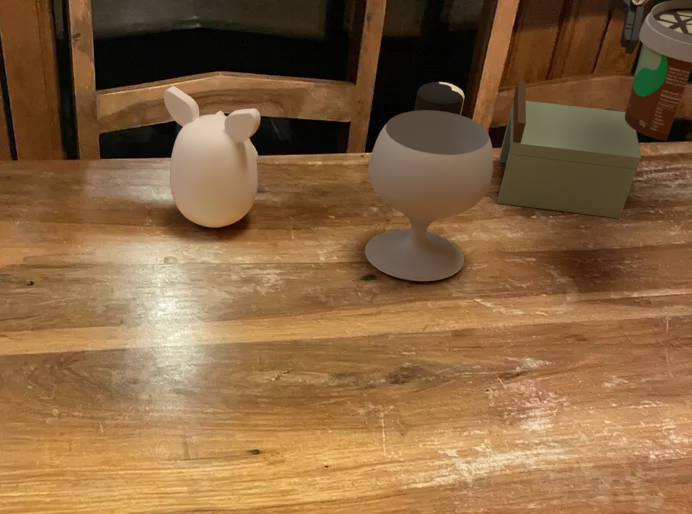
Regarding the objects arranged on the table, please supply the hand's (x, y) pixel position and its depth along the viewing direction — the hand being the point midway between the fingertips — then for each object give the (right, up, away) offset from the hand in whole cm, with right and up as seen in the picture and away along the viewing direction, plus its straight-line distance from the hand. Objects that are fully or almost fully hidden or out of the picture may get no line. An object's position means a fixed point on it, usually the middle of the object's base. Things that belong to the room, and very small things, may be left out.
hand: (668, 54), depth 95 cm
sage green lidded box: (0, +1, +33) cm, 33 cm away
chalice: (-23, -14, +20) cm, 33 cm away
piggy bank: (-47, -7, +24) cm, 54 cm away
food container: (0, -4, +6) cm, 7 cm away
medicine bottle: (-18, +2, +33) cm, 38 cm away
